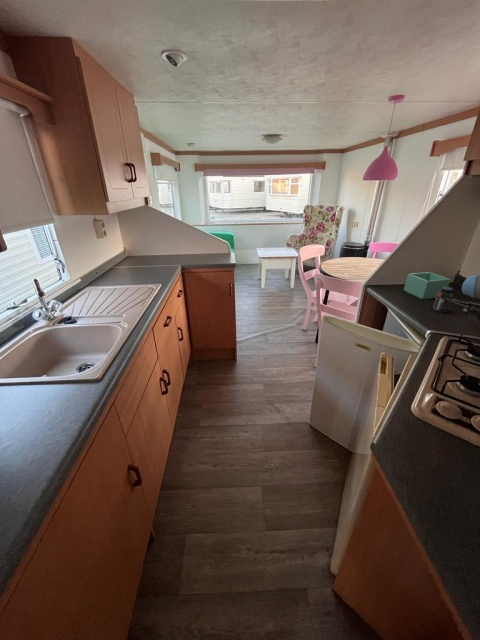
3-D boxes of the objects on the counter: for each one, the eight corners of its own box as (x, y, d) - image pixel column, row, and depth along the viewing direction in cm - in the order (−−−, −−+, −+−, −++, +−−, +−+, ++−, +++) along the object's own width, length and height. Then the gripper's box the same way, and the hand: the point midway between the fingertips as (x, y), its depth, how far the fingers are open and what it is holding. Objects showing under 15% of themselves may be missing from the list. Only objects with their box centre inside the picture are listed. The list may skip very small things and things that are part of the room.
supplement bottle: (431, 306, 130) (439, 285, 125) (446, 309, 128) (454, 287, 123) (432, 311, 126) (439, 289, 121) (447, 314, 123) (456, 291, 118)
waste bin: (444, 296, 141) (450, 279, 137) (422, 299, 139) (427, 281, 135) (424, 288, 153) (429, 271, 149) (403, 290, 151) (408, 273, 147)
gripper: (453, 324, 98) (425, 302, 117) (529, 328, 95) (488, 304, 114) (461, 306, 95) (430, 286, 113) (540, 309, 91) (495, 288, 110)
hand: (459, 295), depth 113 cm, fingers open, 13 cm apart
